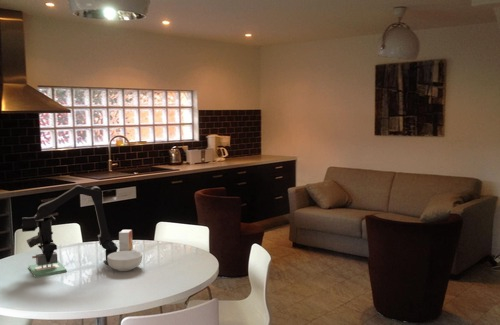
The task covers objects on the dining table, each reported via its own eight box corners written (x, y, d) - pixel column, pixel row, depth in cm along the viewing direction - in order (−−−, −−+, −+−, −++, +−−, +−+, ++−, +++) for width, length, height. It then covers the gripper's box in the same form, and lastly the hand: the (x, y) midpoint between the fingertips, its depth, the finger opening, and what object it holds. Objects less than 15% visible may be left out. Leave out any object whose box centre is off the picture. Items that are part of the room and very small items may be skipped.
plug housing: (57, 262, 243) (57, 253, 243) (33, 266, 237) (33, 257, 237) (55, 260, 247) (55, 251, 246) (31, 264, 241) (31, 255, 240)
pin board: (66, 271, 239) (66, 263, 239) (35, 277, 231) (35, 268, 231) (57, 262, 254) (57, 254, 254) (28, 267, 246) (28, 259, 246)
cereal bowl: (133, 275, 233) (133, 260, 232) (101, 273, 236) (100, 258, 236) (148, 264, 250) (147, 250, 249) (117, 263, 253) (117, 249, 252)
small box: (129, 251, 275) (128, 232, 274) (119, 251, 275) (118, 232, 274) (132, 247, 283) (132, 229, 282) (123, 247, 283) (122, 229, 282)
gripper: (24, 228, 244) (25, 259, 246) (31, 235, 229) (33, 268, 230) (47, 225, 250) (49, 255, 252) (56, 232, 235) (58, 264, 236)
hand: (47, 261), depth 242 cm, fingers closed on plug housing, 4 cm apart
